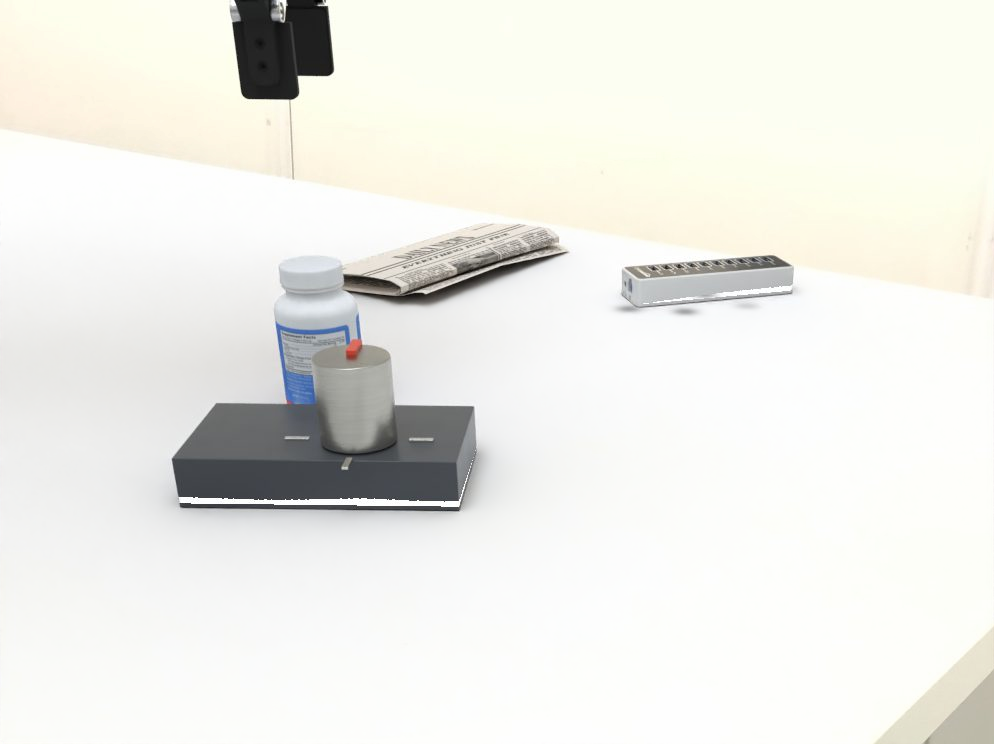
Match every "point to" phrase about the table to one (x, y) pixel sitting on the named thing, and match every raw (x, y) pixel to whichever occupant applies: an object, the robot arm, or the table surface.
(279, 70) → the robot arm
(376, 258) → the newspaper
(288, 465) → the panel
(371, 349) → the hob knob
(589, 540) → the table surface
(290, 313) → the pill bottle
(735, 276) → the multiport hub
